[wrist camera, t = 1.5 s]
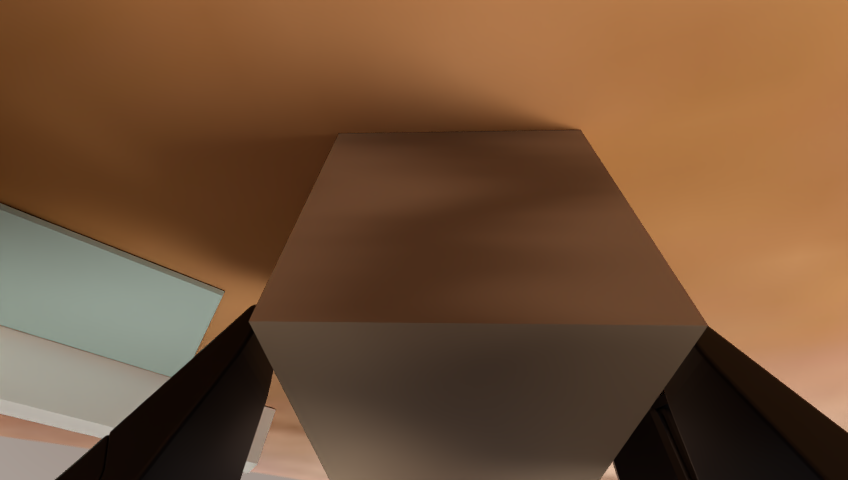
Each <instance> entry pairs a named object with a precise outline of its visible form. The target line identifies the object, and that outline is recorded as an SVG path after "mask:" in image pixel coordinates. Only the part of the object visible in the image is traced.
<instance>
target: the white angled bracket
mask: <svg viewBox="0 0 848 480" xmlns="http://www.w3.org/2000/svg"><path fill="white" fill-rule="evenodd" d="M169 379H170V377H167V376H164V375H160V374H157V373H154V372H150V371H147V370H144V369H141V368H137V367H134V366H131V365H127V364H124V363H121V362H118V361H114V360H111V359H108V358H105V357H101V356H98V355H95V354H91V353H88V352H85V351H82V350H78V349H75V348H72V347H69V346H65V345H62V344H59V343H55V342H52V341H49V340H46V339H42V338H39V337H36V336H32V335H29V334H26V333H23V332H19V331H16V330H13V329H10V328H6V327H3V326H0V414H3V415H8V416H12V417H16V418H20V419H24V420H28V421H32V422H36V423H41V424H45V425H49V426H53V427H57V428H61V429H65V430H69V431H74V432H78V433H82V434H86V435H90V436H94V437H98V438H103V437H105V436H106V435H109V434H110V431H111V430H113V429H114V428H115V427H116V426H117V425H118V424H119V423H120V422H122V421H123V420H124V419H125V418H126V417H127V416H128V415H129V414H131V413H132V412H133V411H134V410H135V409H136V408H137V407H138V406H139V405H141V404H142V403H143V402H144V401H145V400H146V399H147V398H148V397H150V396H151V395H152V394H153V393H154V392H155V391H156V390H157V389H159V388H160V387H161V386H162V385H163V384H164V383H165V382H166V381H168V380H169ZM275 411H276V410H275V409H272V408H268V407H265V406H264V409H263V412H262V415H261V419H260V422H259V425H258V428H257V431H256V434H255V437H254V440H253V443H252V446H251V449H250V452H249V455H248V458H247V461H246V464H245V467H244V470H243V473H249V472H250V471H251V470H252V469H253V468H254V467H255V466H256V465H257V464H258V461H259V458H260V455H261V452H262V449H263V446H264V443H265V440H266V437H267V434H268V432H269V429H270V426H271V423H272V420H273V417H274V414H275Z"/></svg>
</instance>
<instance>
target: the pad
mask: <svg viewBox="0 0 848 480" xmlns="http://www.w3.org/2000/svg"><path fill="white" fill-rule="evenodd" d="M224 292H225V291H222V290H220V289H217V288H215V287H212V286H210V285H207V284H204V283H202V282H199V281H197V280H194V279H192V278H189V277H187V276H184V275H182V274H179V273H176V272H174V271H171V270H169V269H166V268H164V267H161V266H159V265H156V264H154V263H151V262H148V261H146V260H143V259H141V258H138V257H136V256H133V255H131V254H128V253H126V252H123V251H120V250H118V249H115V248H113V247H110V246H108V245H105V244H103V243H100V242H98V241H95V240H92V239H90V238H87V237H85V236H82V235H80V234H77V233H75V232H72V231H69V230H67V229H64V228H62V227H59V226H57V225H54V224H52V223H49V222H47V221H44V220H41V219H39V218H36V217H34V216H31V215H29V214H26V213H24V212H21V211H19V210H16V209H13V208H11V207H8V206H6V205H3V204H1V203H0V325H2V326H5V327H9V328H12V329H15V330H18V331H22V332H25V333H28V334H31V335H35V336H38V337H41V338H45V339H48V340H51V341H54V342H58V343H61V344H64V345H67V346H71V347H74V348H77V349H80V350H84V351H87V352H90V353H94V354H97V355H100V356H103V357H107V358H110V359H113V360H116V361H120V362H123V363H126V364H130V365H133V366H136V367H139V368H143V369H146V370H149V371H152V372H156V373H159V374H162V375H166V376H169V377H172V376H173V375H174V374H175V373H177V372H178V371H179V370H180V369H181V368H182V367H183V366H184V365H185V364H187V363H188V362H189V361H190V360H191V359H192V358H193V357H194V355H195V353H196V351H197V349H198V347H199V345H200V343H201V341H202V339H203V336H204V334H205V332H206V330H207V328H208V326H209V324H210V322H211V320H212V317H213V315H214V313H215V311H216V309H217V307H218V305H219V303H220V301H221V299H222V296H223V294H224Z"/></svg>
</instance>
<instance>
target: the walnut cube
mask: <svg viewBox="0 0 848 480" xmlns="http://www.w3.org/2000/svg"><path fill="white" fill-rule="evenodd" d="M249 323H250V325H251V327H252V329H253V331H254V333H255V335H256V337H257V339H258V341H259V343H260V345H261V346H262V348H263V350H264V352H265V354H266V356H267V358H268V360H269V362H270V364H271V366H272V368H273V370H274V372H275V374H276V376H277V378H278V380H279V382H280V384H281V386H282V388H283V390H284V392H285V393H286V395H287V397H288V399H289V401H290V403H291V405H292V407H293V409H294V411H295V413H296V415H297V417H298V419H299V421H300V423H301V425H302V427H303V429H304V431H305V433H306V435H307V437H308V439H309V440H310V442H311V444H312V446H313V448H314V450H315V452H316V454H317V456H318V458H319V460H320V462H321V464H322V466H323V468H324V470H325V472H326V474H327V476H328V478H329V480H600V479H601V477H602V476H603V474H604V473H605V472H606V470H607V469H608V467H609V466H610V464H611V463H612V462H613V460H614V459H615V457H616V456H617V454H618V453H619V452H620V450H621V449H622V447H623V446H624V445H625V443H626V442H627V440H628V439H629V437H630V436H631V435H632V433H633V432H634V430H635V429H636V427H637V426H638V425H639V423H640V422H641V420H642V419H643V418H644V416H645V415H646V413H647V412H648V410H649V409H650V408H651V406H652V405H653V403H654V402H655V400H656V399H657V398H658V396H659V395H660V393H661V392H662V391H663V389H664V388H665V386H666V385H667V383H668V382H669V381H670V379H671V378H672V376H673V375H674V373H675V372H676V371H677V369H678V368H679V366H680V365H681V364H682V362H683V361H684V359H685V358H686V356H687V355H688V354H689V352H690V351H691V349H692V348H693V346H694V345H695V344H696V342H697V341H698V339H699V338H700V337H701V335H702V334H703V332H704V331H705V329H706V328H707V327H708V325H707V323H706V322H705V320H704V318H703V317H702V315H701V314H700V312H699V311H698V309H697V308H696V306H695V305H694V303H693V302H692V300H691V299H690V297H689V295H688V294H687V292H686V291H685V289H684V288H683V286H682V285H681V283H680V282H679V280H678V279H677V277H676V275H675V274H674V272H673V271H672V269H671V268H670V266H669V265H668V263H667V262H666V260H665V259H664V257H663V256H662V254H661V252H660V251H659V249H658V248H657V246H656V245H655V243H654V242H653V240H652V239H651V237H650V236H649V234H648V232H647V231H646V229H645V228H644V226H643V225H642V223H641V222H640V220H639V219H638V217H637V216H636V214H635V213H634V211H633V209H632V208H631V206H630V205H629V203H628V202H627V200H626V199H625V197H624V196H623V194H622V193H621V191H620V189H619V188H618V186H617V185H616V183H615V182H614V180H613V179H612V177H611V176H610V174H609V173H608V171H607V170H606V168H605V166H604V165H603V163H602V162H601V160H600V159H599V157H598V156H597V154H596V153H595V151H594V150H593V148H592V147H591V145H590V143H589V142H588V140H587V139H586V137H585V136H584V134H583V133H582V131H581V130H533V131H466V132H399V133H339V134H338V136H337V138H336V140H335V142H334V144H333V146H332V149H331V151H330V153H329V155H328V157H327V159H326V161H325V163H324V165H323V167H322V169H321V172H320V174H319V176H318V178H317V180H316V182H315V184H314V186H313V188H312V190H311V192H310V194H309V197H308V199H307V201H306V203H305V205H304V207H303V209H302V211H301V213H300V215H299V217H298V219H297V222H296V224H295V226H294V228H293V230H292V232H291V234H290V236H289V238H288V240H287V242H286V245H285V247H284V249H283V251H282V253H281V255H280V257H279V259H278V261H277V263H276V265H275V267H274V270H273V272H272V274H271V276H270V278H269V280H268V282H267V284H266V286H265V288H264V290H263V292H262V295H261V297H260V299H259V301H258V303H257V305H256V307H255V309H254V311H253V313H252V315H251V318H250V320H249Z"/></svg>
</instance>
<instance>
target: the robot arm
mask: <svg viewBox="0 0 848 480" xmlns="http://www.w3.org/2000/svg"><path fill="white" fill-rule="evenodd" d="M255 307H256V305H253V306H251V307H250V308H248V309H247V310H246V311H245V312H244V313H243V314H242V315H240V316H239V317H238V318H237V319H236V320H235V321H234V322H233V323H232V324H230V325H229V326H228V327H227V328H226V329H225V330H224V331H223V332H221V333H220V334H219V335H218V336H217V337H216V338H215V339H214V340H212V341H211V342H210V343H209V344H208V345H207V346H206V347H205V348H203V349H202V350H201V351H200V352H199V353H198V354H197V355H196V356H194V357H193V358H192V359H191V360H190V361H189V362H188V363H187V364H185V365H184V366H183V367H182V368H181V369H180V370H179V371H178V372H177V373H175V374H174V375H173V376H172V377H171V378H170V379H169V380H168V381H166V382H165V383H164V384H163V385H162V386H161V387H160V388H159V389H157V390H156V391H155V392H154V393H153V394H152V395H151V396H150V397H148V398H147V399H146V400H145V401H144V402H143V403H142V404H141V405H139V406H138V407H137V408H136V409H135V410H134V411H133V412H132V413H131V414H129V415H128V416H127V417H126V418H125V419H124V420H123V421H122V422H120V423H119V424H118V425H117V426H116V427H115V428H114V429H113V430H111V431H110V434H109V435H106V436H105V437H103V438H102V439H101V440H100V441H99V442H98V443H97V444H96V445H94V446H93V447H92V448H91V449H90V450H89V451H88V452H87V453H85V454H84V455H83V456H82V457H81V458H80V459H79V460H77V461H76V462H75V463H74V464H73V465H72V466H71V467H69V468H68V469H67V470H66V471H65V472H63V473H62V474H61V475H60V476H59V477H58V478H56V479H55V480H240V479H241V476H242V473H243V470H244V467H245V464H246V461H247V458H248V455H249V452H250V449H251V446H252V443H253V440H254V437H255V434H256V431H257V428H258V425H259V422H260V419H261V415H262V412H263V409H264V406H265V403H266V400H267V397H268V392H269V388H270V384H271V379H272V374H273V368H272V366H271V364H270V362H269V360H268V358H267V356H266V354H265V352H264V350H263V348H262V346H261V345H260V343H259V341H258V339H257V337H256V335H255V333H254V331H253V329H252V327H251V325H250V323H249V320H250V318H251V315H252V313H253V311H254V309H255ZM664 391H665V394H664V395H662V396H660V397H658V398H657V399H656V400H655V402H654V403H653V405H652V406H651V408H650V409H649V410H648V412H647V413H646V415H645V416H644V418H643V419H642V420H641V422H640V423H639V425H638V426H637V427H636V429H635V430H634V432H633V433H632V435H631V436H630V437H629V439H628V440H627V442H626V443H625V445H624V446H623V447H622V449H621V450H620V452H619V453H618V454H617V456H616V457H615V459H614V460H613V465H614V468H615V471H616V475H617V478H618V480H848V432H846V431H845V430H844V429H842V428H841V427H840V426H838V425H837V424H836V423H834V422H833V421H832V420H831V419H829V418H828V417H827V416H825V415H824V414H823V413H821V412H820V411H819V410H817V409H816V408H815V407H814V406H812V405H811V404H810V403H808V402H807V401H806V400H804V399H803V398H802V397H800V396H799V395H798V394H796V393H795V392H794V391H793V390H791V389H790V388H789V387H787V386H786V385H785V384H783V383H782V382H781V381H779V380H778V379H777V378H776V377H774V376H773V375H772V374H770V373H769V372H768V371H766V370H765V369H764V368H762V367H761V366H760V365H759V364H757V363H756V362H755V361H753V360H752V359H751V358H749V357H748V356H747V355H745V354H744V353H743V352H742V351H740V350H739V349H738V348H736V347H735V346H734V345H732V344H731V343H730V342H728V341H727V340H726V339H725V338H723V337H722V336H721V335H719V334H718V333H717V332H715V331H714V330H713V329H711V328H710V327H709V326H708V327H707V328H706V329H705V331H704V332H703V334H702V335H701V337H700V338H699V339H698V341H697V342H696V344H695V345H694V346H693V348H692V349H691V351H690V352H689V354H688V355H687V356H686V358H685V359H684V361H683V362H682V364H681V365H680V366H679V368H678V369H677V371H676V372H675V373H674V375H673V376H672V378H671V379H670V381H669V382H668V383H667V385H666V386H665V388H664Z"/></svg>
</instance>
